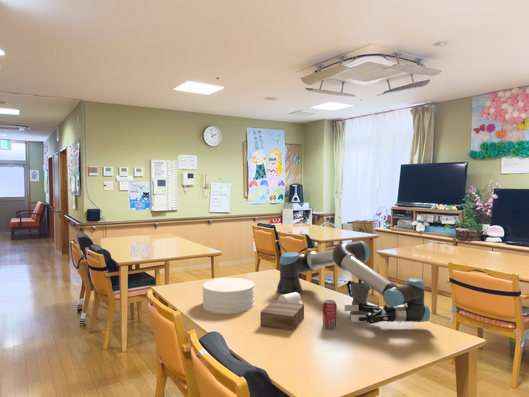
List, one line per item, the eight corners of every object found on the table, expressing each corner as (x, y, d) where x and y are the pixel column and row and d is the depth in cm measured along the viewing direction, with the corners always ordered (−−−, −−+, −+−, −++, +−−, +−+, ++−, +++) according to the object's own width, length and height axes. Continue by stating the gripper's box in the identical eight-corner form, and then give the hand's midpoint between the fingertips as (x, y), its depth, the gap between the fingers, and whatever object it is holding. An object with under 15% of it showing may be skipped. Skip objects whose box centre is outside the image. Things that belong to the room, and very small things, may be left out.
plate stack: (230, 317, 189) (230, 295, 189) (191, 306, 206) (191, 285, 206) (264, 303, 212) (264, 283, 211) (227, 294, 229) (227, 275, 228)
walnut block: (273, 314, 194) (273, 300, 194) (304, 318, 189) (304, 304, 188) (260, 326, 177) (260, 311, 177) (293, 331, 172) (293, 316, 172)
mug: (277, 308, 203) (277, 293, 203) (292, 304, 209) (292, 290, 209) (292, 314, 193) (292, 299, 193) (307, 311, 199) (307, 295, 199)
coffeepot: (376, 316, 191) (376, 280, 190) (363, 320, 186) (363, 283, 185) (353, 307, 204) (353, 274, 203) (340, 311, 199) (340, 276, 198)
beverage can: (327, 323, 182) (327, 298, 181) (338, 326, 178) (339, 301, 177) (320, 327, 177) (320, 301, 176) (332, 330, 173) (332, 304, 172)
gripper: (403, 331, 164) (353, 331, 164) (385, 311, 189) (342, 311, 189) (403, 314, 164) (353, 314, 164) (385, 296, 188) (342, 296, 189)
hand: (347, 312), depth 176 cm, fingers open, 13 cm apart
